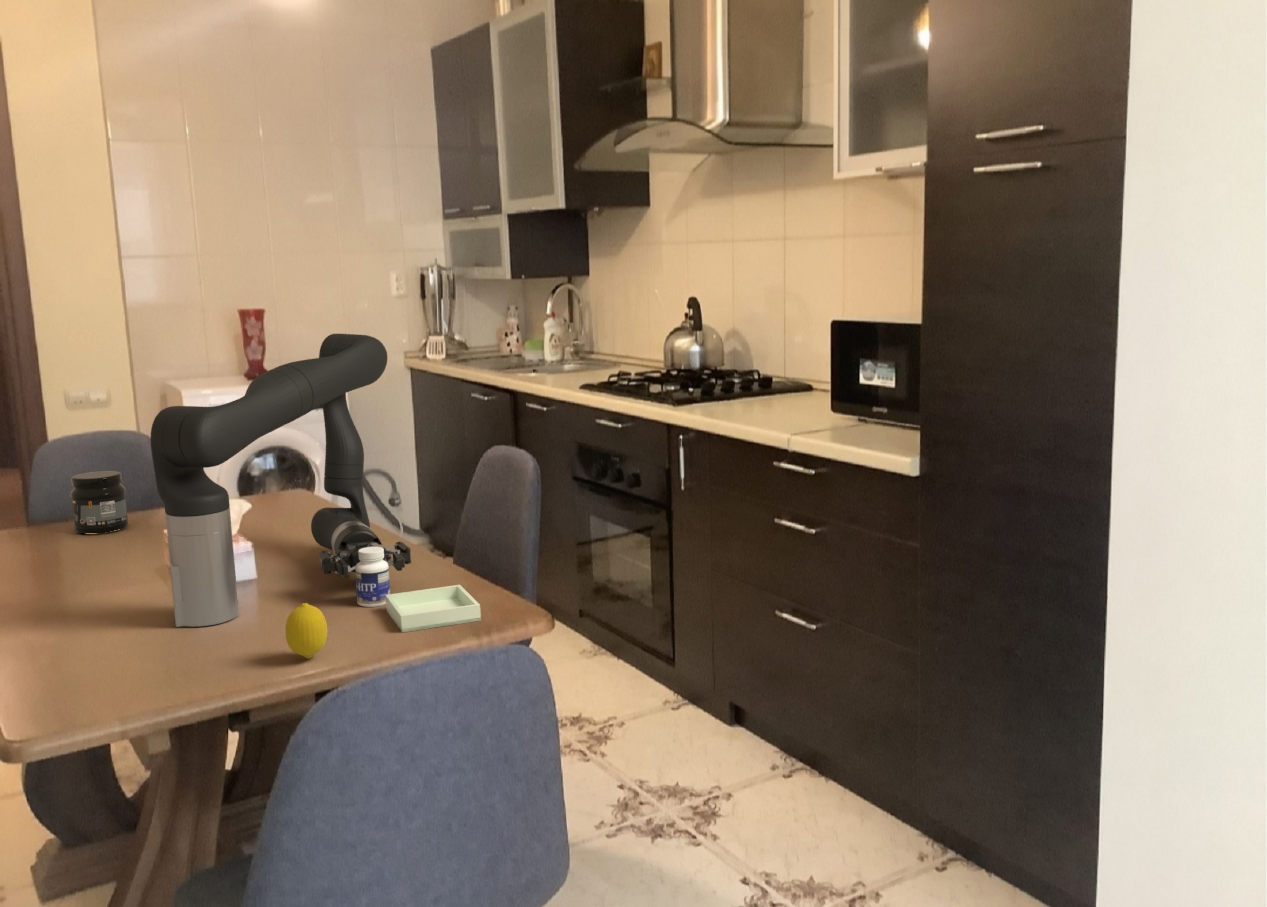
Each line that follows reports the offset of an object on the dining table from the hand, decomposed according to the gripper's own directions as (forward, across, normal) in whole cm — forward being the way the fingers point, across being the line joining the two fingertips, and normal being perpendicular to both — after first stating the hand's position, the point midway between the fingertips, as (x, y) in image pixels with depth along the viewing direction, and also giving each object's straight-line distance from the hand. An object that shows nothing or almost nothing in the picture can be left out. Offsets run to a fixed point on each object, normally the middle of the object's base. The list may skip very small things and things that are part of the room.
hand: (373, 568), depth 170 cm
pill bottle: (-1, 0, +6) cm, 6 cm away
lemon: (+21, -13, +6) cm, 25 cm away
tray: (+10, +7, +6) cm, 13 cm away
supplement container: (-81, -43, +6) cm, 92 cm away
